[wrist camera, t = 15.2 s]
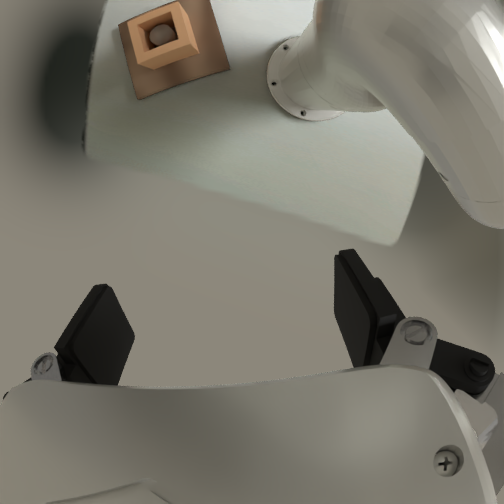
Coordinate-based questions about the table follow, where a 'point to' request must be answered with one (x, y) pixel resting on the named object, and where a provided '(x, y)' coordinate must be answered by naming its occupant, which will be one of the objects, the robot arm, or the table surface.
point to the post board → (186, 69)
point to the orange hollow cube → (167, 52)
